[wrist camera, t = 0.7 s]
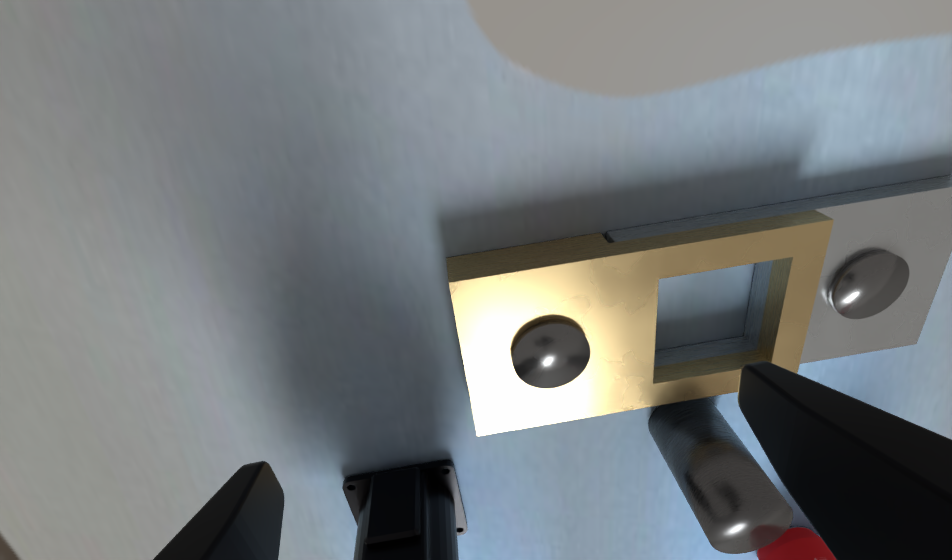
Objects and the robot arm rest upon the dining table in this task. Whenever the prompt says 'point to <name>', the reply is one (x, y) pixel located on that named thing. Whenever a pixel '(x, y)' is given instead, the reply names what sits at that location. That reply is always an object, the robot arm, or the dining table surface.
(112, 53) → the dining table surface
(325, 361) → the dining table surface
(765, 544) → the pin
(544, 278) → the upper chain link
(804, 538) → the beverage can
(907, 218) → the lower chain link
